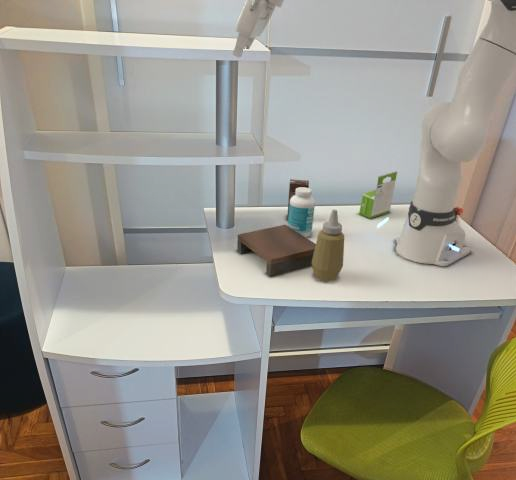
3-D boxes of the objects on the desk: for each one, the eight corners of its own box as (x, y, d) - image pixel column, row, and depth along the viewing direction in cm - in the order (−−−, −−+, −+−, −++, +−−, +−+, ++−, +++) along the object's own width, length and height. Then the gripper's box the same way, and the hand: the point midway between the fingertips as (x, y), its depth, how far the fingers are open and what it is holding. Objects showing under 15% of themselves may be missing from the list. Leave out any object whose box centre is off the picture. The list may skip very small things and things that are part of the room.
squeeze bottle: (316, 285, 128) (325, 218, 118) (305, 270, 134) (313, 205, 124) (346, 282, 130) (357, 215, 120) (333, 268, 136) (343, 203, 126)
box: (305, 216, 165) (309, 179, 158) (305, 222, 161) (309, 184, 154) (287, 215, 165) (290, 178, 158) (286, 220, 162) (289, 183, 155)
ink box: (377, 207, 175) (385, 166, 166) (390, 212, 171) (399, 171, 163) (358, 214, 169) (365, 172, 161) (370, 219, 166) (378, 176, 158)
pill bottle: (309, 240, 150) (315, 195, 142) (285, 236, 151) (289, 192, 143) (312, 230, 156) (317, 187, 148) (289, 227, 157) (292, 184, 149)
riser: (284, 240, 149) (285, 224, 146) (319, 264, 138) (321, 247, 135) (237, 251, 142) (237, 234, 139) (270, 277, 131) (271, 259, 128)
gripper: (274, -6, 101) (245, 65, 109) (282, -2, 118) (257, 59, 126) (246, -23, 100) (218, 50, 108) (258, -16, 118) (234, 46, 125)
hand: (239, 55), depth 117 cm, fingers open, 8 cm apart
